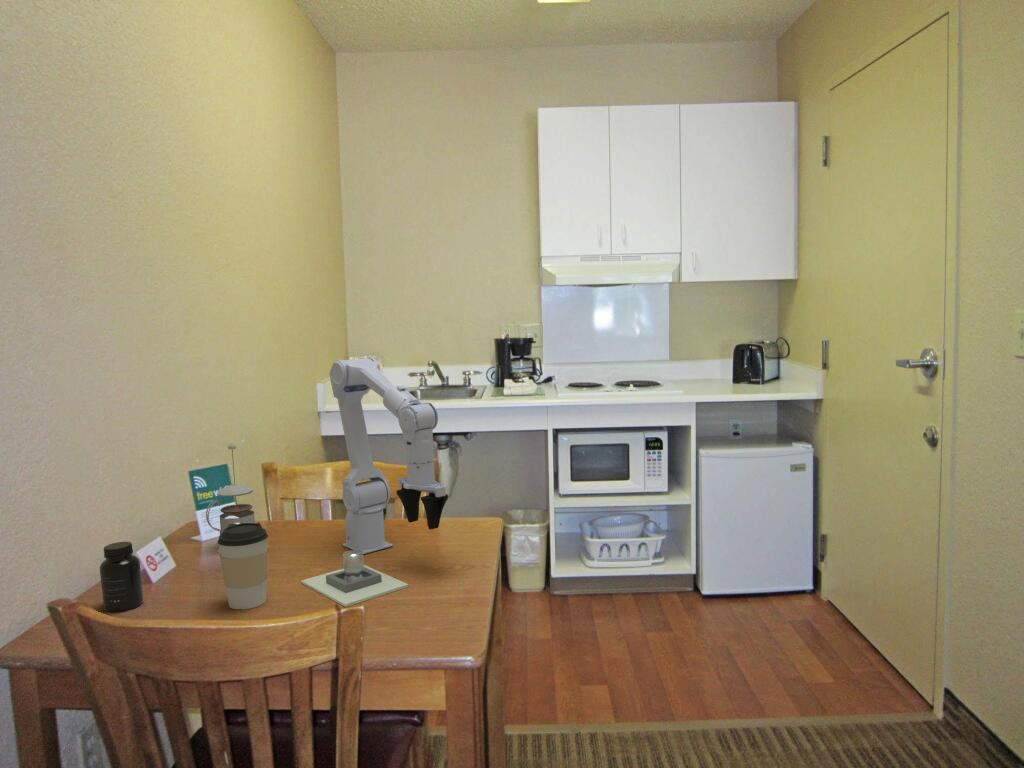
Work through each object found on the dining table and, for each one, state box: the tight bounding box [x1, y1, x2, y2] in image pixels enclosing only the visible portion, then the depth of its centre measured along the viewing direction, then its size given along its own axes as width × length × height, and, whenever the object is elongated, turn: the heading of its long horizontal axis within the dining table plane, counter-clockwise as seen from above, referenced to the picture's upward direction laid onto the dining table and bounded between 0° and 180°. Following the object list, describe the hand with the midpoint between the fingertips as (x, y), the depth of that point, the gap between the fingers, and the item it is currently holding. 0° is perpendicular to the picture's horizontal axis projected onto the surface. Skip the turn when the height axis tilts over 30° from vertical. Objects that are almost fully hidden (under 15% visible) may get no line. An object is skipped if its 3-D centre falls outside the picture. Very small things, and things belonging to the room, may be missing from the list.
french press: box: [205, 443, 256, 554], centre depth 175 cm, size 10×12×25 cm
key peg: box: [342, 549, 365, 582], centre depth 150 cm, size 4×4×6 cm
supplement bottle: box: [99, 541, 144, 613], centre depth 142 cm, size 7×7×12 cm
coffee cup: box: [217, 522, 269, 611], centre depth 142 cm, size 9×9×15 cm
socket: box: [300, 564, 409, 608], centre depth 150 cm, size 18×14×2 cm
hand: (423, 524), depth 158 cm, fingers open, 7 cm apart
